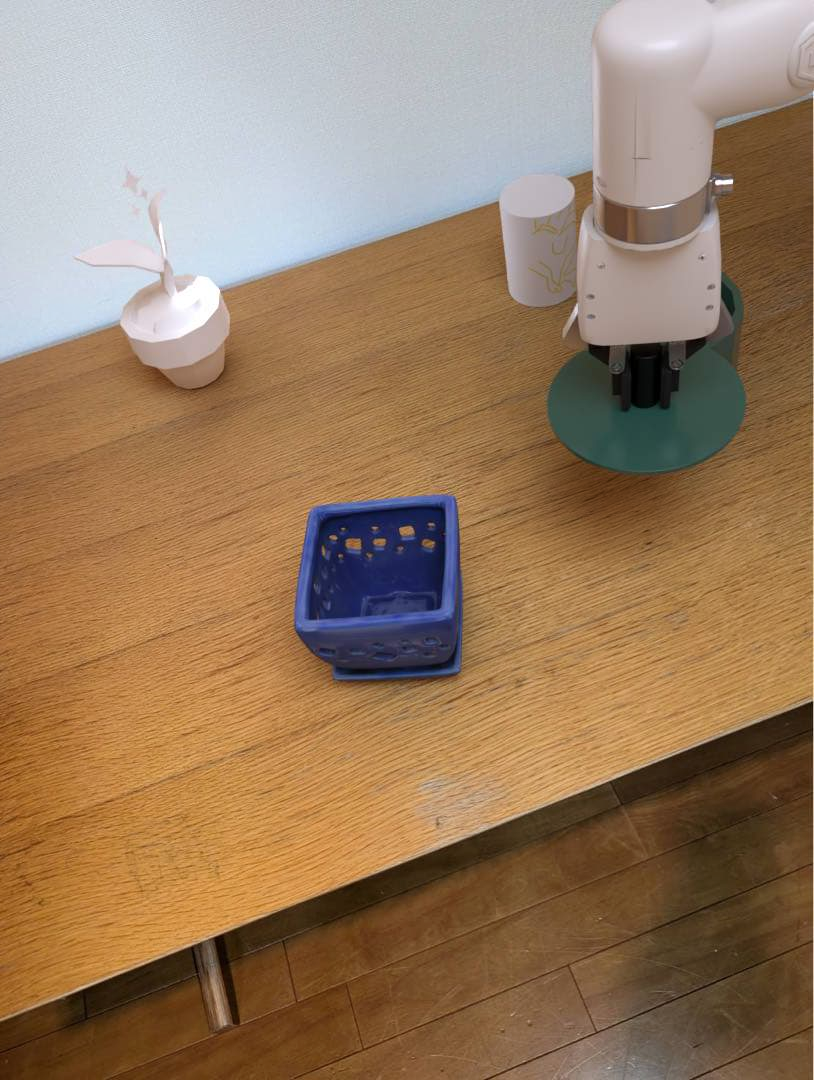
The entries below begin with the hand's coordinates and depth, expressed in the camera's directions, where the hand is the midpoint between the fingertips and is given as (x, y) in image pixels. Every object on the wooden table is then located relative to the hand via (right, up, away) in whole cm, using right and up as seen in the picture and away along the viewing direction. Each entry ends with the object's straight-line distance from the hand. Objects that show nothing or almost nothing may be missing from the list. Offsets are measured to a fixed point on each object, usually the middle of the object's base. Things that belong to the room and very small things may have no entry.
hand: (644, 395), depth 80 cm
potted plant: (-44, +8, +37) cm, 58 cm away
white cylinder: (-3, +18, +36) cm, 41 cm away
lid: (0, 0, +1) cm, 1 cm away
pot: (+7, +5, +23) cm, 25 cm away
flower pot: (-20, -20, +10) cm, 30 cm away
